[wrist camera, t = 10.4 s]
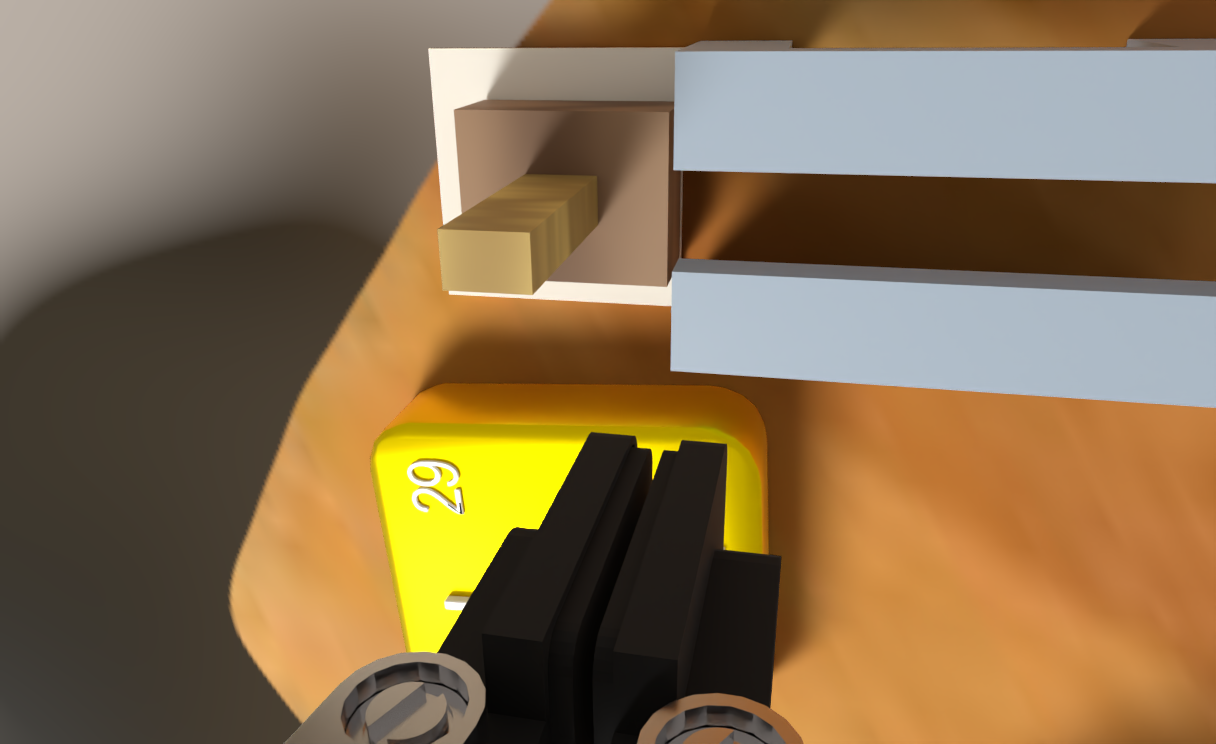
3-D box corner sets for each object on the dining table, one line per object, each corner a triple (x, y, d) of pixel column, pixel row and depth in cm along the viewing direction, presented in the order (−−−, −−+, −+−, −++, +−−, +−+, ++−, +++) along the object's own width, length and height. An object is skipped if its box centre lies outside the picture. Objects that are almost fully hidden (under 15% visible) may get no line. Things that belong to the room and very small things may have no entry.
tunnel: (1237, 38, 27) (1344, 50, 21) (1167, 335, 30) (1242, 409, 25) (700, 40, 30) (674, 51, 25) (693, 309, 34) (670, 371, 28)
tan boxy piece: (681, 101, 30) (620, 151, 21) (679, 262, 33) (623, 374, 23) (484, 99, 32) (342, 145, 22) (494, 254, 34) (368, 357, 24)
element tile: (771, 692, 40) (766, 777, 36) (454, 667, 43) (414, 741, 39) (766, 381, 35) (760, 436, 30) (403, 378, 38) (350, 428, 34)
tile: (685, 47, 30) (683, 47, 30) (680, 303, 34) (679, 306, 33) (431, 47, 32) (428, 48, 32) (452, 291, 35) (449, 294, 35)
